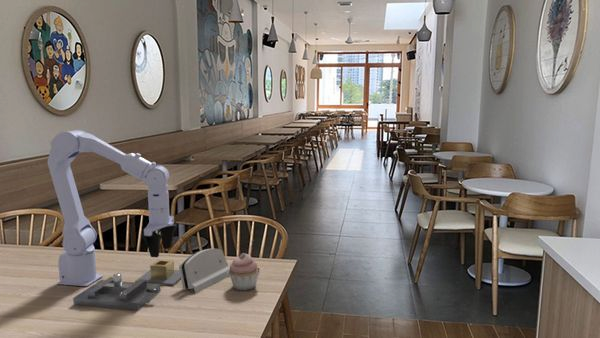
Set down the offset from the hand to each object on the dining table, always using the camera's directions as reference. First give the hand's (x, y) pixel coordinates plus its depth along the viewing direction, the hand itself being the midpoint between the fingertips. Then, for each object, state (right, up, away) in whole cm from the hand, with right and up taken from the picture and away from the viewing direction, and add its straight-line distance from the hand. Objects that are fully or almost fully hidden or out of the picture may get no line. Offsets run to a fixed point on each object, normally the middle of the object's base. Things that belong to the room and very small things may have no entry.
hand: (161, 252), depth 134 cm
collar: (0, -7, +1) cm, 7 cm away
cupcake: (+25, -9, -5) cm, 27 cm away
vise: (-6, -10, -13) cm, 17 cm away
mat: (0, -8, +1) cm, 8 cm away
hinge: (+14, -8, -1) cm, 16 cm away
